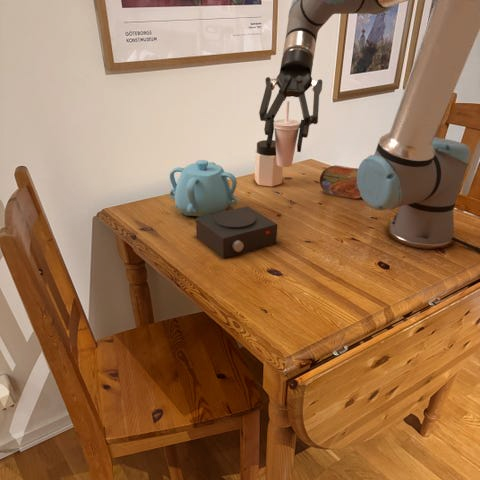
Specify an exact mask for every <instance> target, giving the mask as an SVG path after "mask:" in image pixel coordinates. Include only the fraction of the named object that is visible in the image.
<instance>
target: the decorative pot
mask: <svg viewBox="0 0 480 480" xmlns="http://www.w3.org/2000/svg"><path fill="white" fill-rule="evenodd" d="M175 173H180V175H179V178H178V180H177V181H176V179H175ZM169 180H170V181H169V182H170V184H171V186H172V189H171V188H170V190H169V197H171V198H172V199H174V204H175V207H176V208H177V210H178V211H179V212H180V213H181V214H184V215H185V216H187V217H191V216H192V217H198V218H199V217H203V216H207V215H211V214H215V213H220V212H222V211H227V209H228V207H229V206H231V207H233V206H236V205H237V204H238V202H239V199H238V197H237V196H236V195H234V194H235V191H236V189H237V184H238V183H237V182H238V180H237V178H236V176H235V175H234V174H233V173H231V172H229V171H227V172H226V171H225V170H224V169H223V167H222V165H220V164H216V163H215V162H212V161H210V162H209V161H208V160H205V159H198V160H196V161H195V162H193V163H191V164H188V165H186V166H185V167H181V166H180V167H179V166H177V167H175V168H173V169H171V171H170V172H169ZM229 180H230V181H231V185H230V181H229Z"/></svg>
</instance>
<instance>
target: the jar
mask: <svg viewBox="0 0 480 480" xmlns="http://www.w3.org/2000/svg"><path fill="white" fill-rule="evenodd" d="M266 143H267V139H265V140H264V139H263V140H260V141H257V142H256V150H255V157H254V158H255V159H254V181H255V183H256V184H257V185H258V186H262V187H275V186H279V185H282V184H283V171H284V167H281V166H278V165H277V159H276V143H275V139H272V144H271V150H267V144H266Z"/></svg>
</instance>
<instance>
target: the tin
mask: <svg viewBox="0 0 480 480" xmlns="http://www.w3.org/2000/svg"><path fill="white" fill-rule="evenodd" d="M358 168H359V167H358ZM358 168H356V167H349V166H344V165H343V166H342V165H336V164H335V165H330V166H328V167H327V168H325V169H323V170H322V172H321V174H320V176H319V185H320V188H321V190H322V191H323V192H324V193H326V194H327V195H330V196H335V197H341V198H342V197H343V198H348V199H354V200H357V199H362V197H361V195H360V191H359V189H358V185H357V172H358Z"/></svg>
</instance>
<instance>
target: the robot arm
mask: <svg viewBox="0 0 480 480" xmlns="http://www.w3.org/2000/svg"><path fill="white" fill-rule="evenodd" d="M408 1H409V0H292V1H291V5H290V8H289V10H288V15H287V16H288V18H287V25H286V33H285V39H284V43H283V49H282V57H281V62H280V67H279V68H280V69H279V73H278V74H277V76H276V77H275V78H271V77H269V76H267V77H265V79H264V80H265V81H264V82H265V88H264V92H263V97H262V99H261V104H260V107H259V111H258V114H259V115H258V116H259V120H260V122H261V121H262V122H264V129H263V130H264V135H265V136H267V138H266V140H267V143H266V144H267V150H271V144H272V140H273V139H274V138H273V137H274V133H275V128H274V127H273V124H274V121H275V118H276V116H277V114H278V112H279V111H280V108H281V107H282V105H283V103H284V102H285V101H286V99H287V98H290V97H293V98H298V102H299V105H300V110H301V115H302V119H300V123H301V124H300V128H299V131H298V136H297V142H296V152H297V153H301V152H302V145H303V140H304V138H305V139H307V138H308V136H309V131H310V126H311V125H317V124H318V123H319V108H320V94H321V92H322V90H323V80H322V79H318V80H315V79H313V77H312V71H313V65H314V59H315V51H316V46H317V39H318V33H319V31H320V29H321V28H323V26H324V25H325V24H326V23H327V22H328V21H329V20H330V19H331V18H332V16H333V15H347V14H348V15H353V14H355V15H356V14H359V15H361V14H362V15H379V14H384V13H387V12H389V11H390V10H391V9H392V8H393V7H394V6H397V5H399V4H402V3H405V2H408ZM479 33H480V0H435V1H434V4H433V6H432V10H431V12H430V16H429V18H428V21H427V24H426V26H425V30H424V33H423V36H422V38H421V41H420V44H419V48H418V50H417V53H416V56H415V58H414V62H413V64H412V67H411V69H410V73H409V76H408V79H407V82H406V84H405V87H404V91H403V93H402V96H401V98H400V101H399V105H398V108H397V111H396V113H395V115H394V119H393V122H392V124H391V127H390V131H389V132H388V133H386V134H384V135H381V137H380V138H379V140H378V142H377V146H376V148H375V153H374V154H370V155H368V156H367V157H366V158H364V159H363V160H362V161H361V162H360V164H359V166H358V172H357V185H358V189H359V191H360V195H361V199H362V200H363V201H364V203H365V205H367V206H369V208H371V209H373V210H377V211H385V210H394V209H397V208H399V209H398V210H397V212H396V214H395V215H394V217H391V222H390V224H389V228H388V234H389V236H390V237H391V238H392V239H393V240H395V241H396V242H398V243H400V244H403V245H405V246H408V247H411V248H417V249H423V250H438V249H439V250H440V249H443V248H444V249H445V248H446V247H449V246H450V245H451V244H452V242H455V243H457V244H460V245H463V246H465V247H467V248H470V249H471V250H474V251H476V252H480V247H479V246H476V245H474V244H470V243H468V242H467V241H463V240H461V239H459V238H456V237H454V235H455V230H454V229H455V226H454V225H455V224H454V223H455V222H454V211H455V206H456V203H457V200H458V197H459V193H460V190H461V188H462V187H461V186H462V184H463V181H464V178H465V175H466V172H467V170H468V167H469V165H470V157H471V155H472V154H471V153H472V152H471V151H472V150H471V147H470V146H468V145H467V144H466V143H463V142H460V141H457V140H452V139H448V138H443V137H436V135H437V132H438V129H439V127H440V125H441V122H442V120H443V117H444V116H445V113H446V110H447V108H448V106H449V103H450V102H451V98H452V96H453V94H454V92H455V89H456V87H457V84H458V82H459V80H460V77H461V75H462V73H463V70H464V68H465V65H466V63H467V62H468V59H469V56H470V54H471V51H472V49H473V46H474V44H475V41H476V39H477V36H478V35H479ZM276 86H278V88H279V90H278V93H277V94H276V96H275V98H274V100H273V102H272V104H271V106H270V102H271V100H272V94H273V91H274V90H275V88H276ZM310 88H311V89H312V90H311V91H312V92H313V105H312V115H310V111H309V107H308V102H307V98H306V92H307V91H308V89H310ZM269 106H270V107H269ZM393 213H394V212H392V214H391V215H393Z"/></svg>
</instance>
